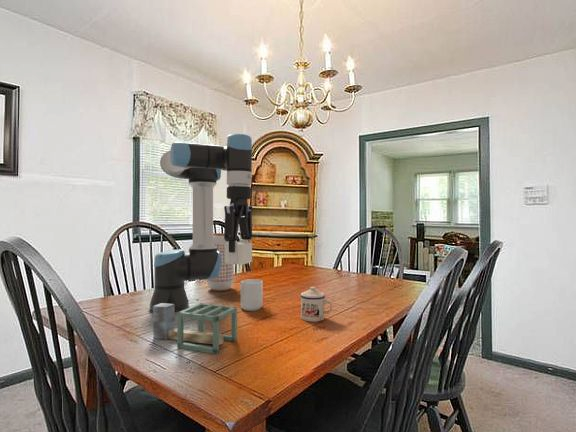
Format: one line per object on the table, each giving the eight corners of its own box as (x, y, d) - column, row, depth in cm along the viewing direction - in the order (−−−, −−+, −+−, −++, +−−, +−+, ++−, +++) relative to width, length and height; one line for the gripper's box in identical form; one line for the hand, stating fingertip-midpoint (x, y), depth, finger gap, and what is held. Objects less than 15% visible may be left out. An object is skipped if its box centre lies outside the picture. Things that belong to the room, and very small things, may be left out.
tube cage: (177, 347, 104) (177, 312, 103) (200, 334, 114) (200, 303, 114) (216, 354, 99) (216, 317, 99) (236, 340, 109) (236, 307, 109)
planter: (231, 292, 173) (231, 234, 173) (204, 292, 174) (204, 234, 173) (235, 286, 187) (235, 233, 186) (210, 286, 187) (210, 232, 187)
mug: (255, 312, 140) (255, 284, 140) (236, 309, 143) (236, 282, 143) (269, 305, 151) (269, 278, 151) (251, 302, 154) (251, 277, 154)
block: (225, 263, 107) (225, 243, 107) (235, 260, 113) (235, 241, 113) (242, 264, 105) (242, 244, 105) (251, 261, 111) (252, 242, 111)
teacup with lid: (297, 320, 130) (297, 288, 129) (304, 313, 138) (304, 283, 138) (329, 324, 125) (329, 291, 125) (335, 317, 134) (335, 286, 134)
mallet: (153, 338, 111) (152, 306, 111) (162, 334, 115) (161, 303, 115) (217, 346, 103) (216, 311, 103) (224, 341, 107) (224, 308, 107)
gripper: (234, 183, 98) (234, 267, 99) (263, 187, 116) (262, 258, 117) (211, 184, 101) (210, 265, 102) (243, 187, 119) (242, 257, 119)
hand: (238, 261), depth 109 cm, fingers closed on block, 6 cm apart
